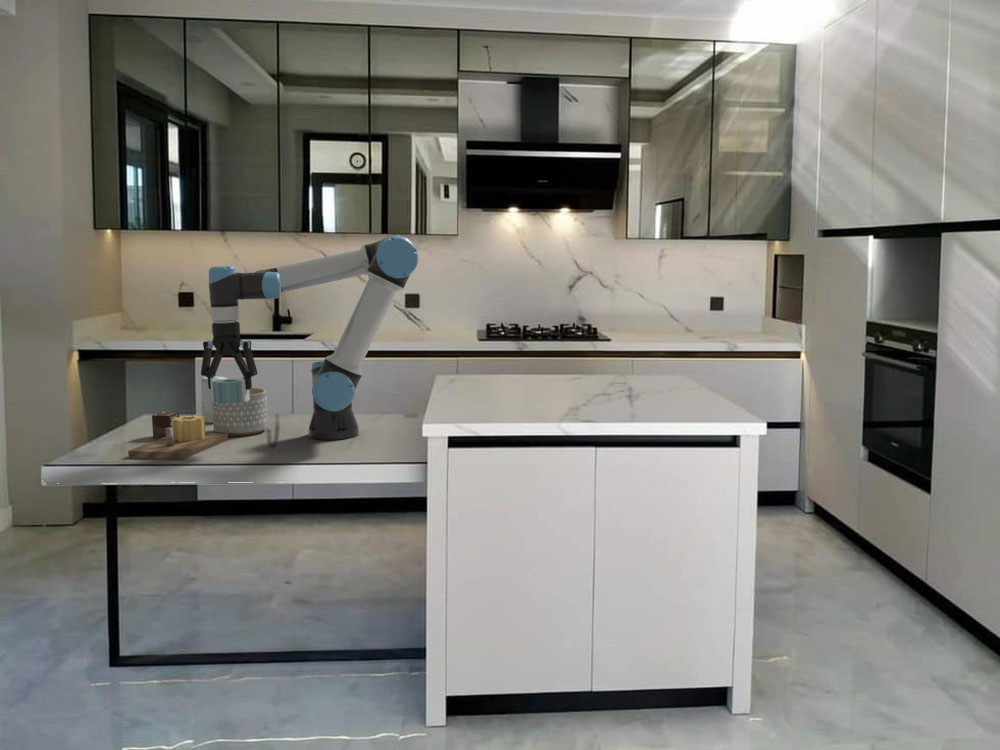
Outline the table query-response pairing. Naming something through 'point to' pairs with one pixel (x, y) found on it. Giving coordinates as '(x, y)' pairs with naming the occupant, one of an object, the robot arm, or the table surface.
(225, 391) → the gear
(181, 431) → the gear out
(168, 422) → the box
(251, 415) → the planter
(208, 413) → the skincare box
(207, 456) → the table surface
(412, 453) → the table surface
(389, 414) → the table surface
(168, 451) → the gear board
